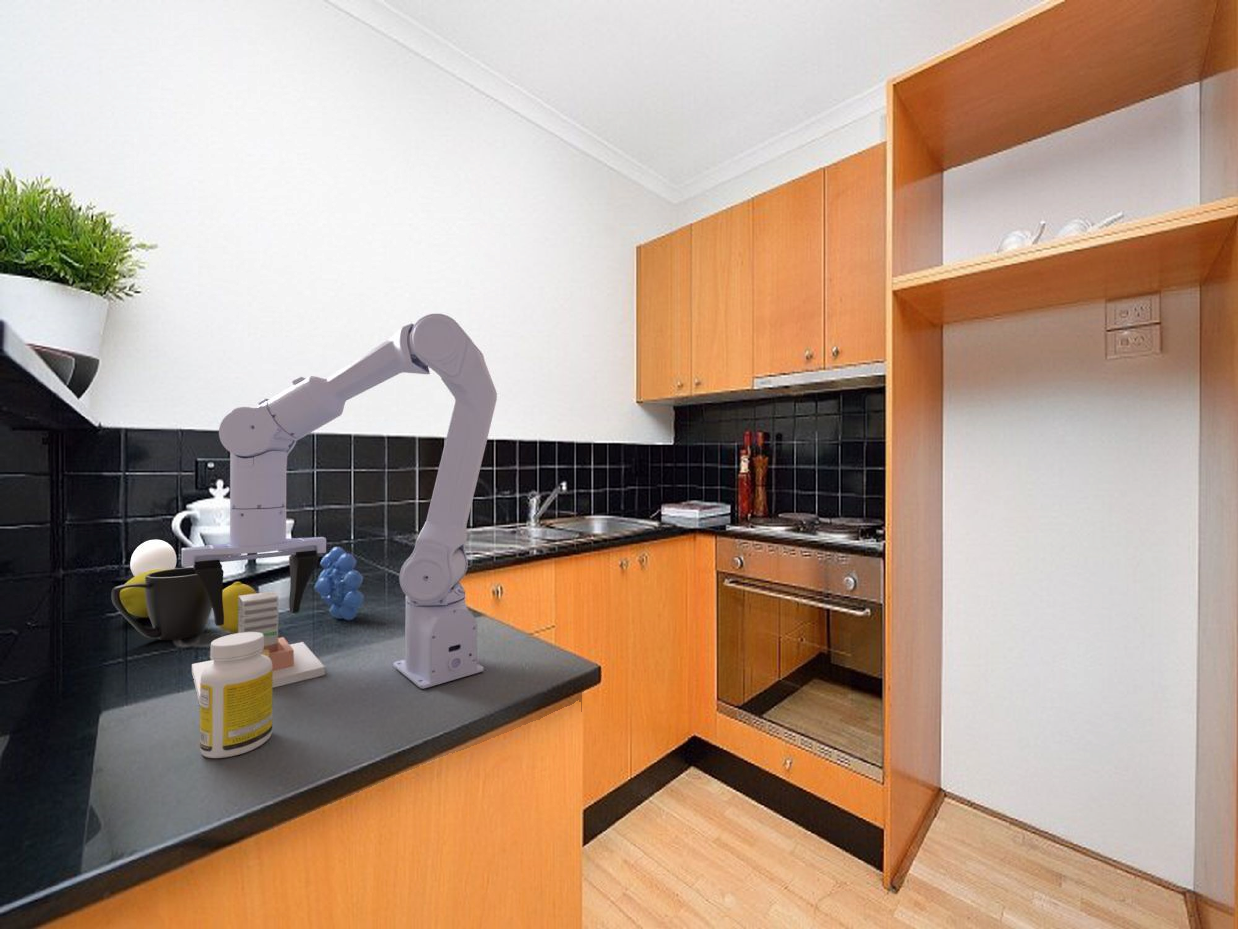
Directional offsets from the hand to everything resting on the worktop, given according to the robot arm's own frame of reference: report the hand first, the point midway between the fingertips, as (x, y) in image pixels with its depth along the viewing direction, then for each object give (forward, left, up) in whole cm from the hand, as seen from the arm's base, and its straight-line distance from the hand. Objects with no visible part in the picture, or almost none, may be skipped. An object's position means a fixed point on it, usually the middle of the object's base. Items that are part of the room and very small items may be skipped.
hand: (258, 617), depth 64 cm
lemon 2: (+20, 0, -7) cm, 21 cm away
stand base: (0, 0, -7) cm, 7 cm away
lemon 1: (+40, +9, -7) cm, 42 cm away
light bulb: (+59, +9, -7) cm, 60 cm away
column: (0, 0, -3) cm, 3 cm away
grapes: (+18, -13, -7) cm, 23 cm away
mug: (+25, +8, -7) cm, 27 cm away
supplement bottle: (-18, +4, -7) cm, 20 cm away
